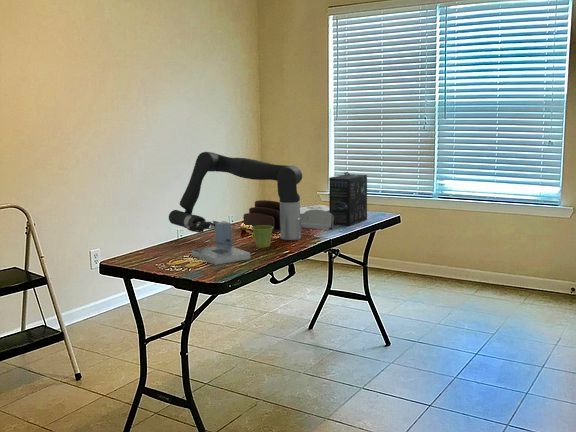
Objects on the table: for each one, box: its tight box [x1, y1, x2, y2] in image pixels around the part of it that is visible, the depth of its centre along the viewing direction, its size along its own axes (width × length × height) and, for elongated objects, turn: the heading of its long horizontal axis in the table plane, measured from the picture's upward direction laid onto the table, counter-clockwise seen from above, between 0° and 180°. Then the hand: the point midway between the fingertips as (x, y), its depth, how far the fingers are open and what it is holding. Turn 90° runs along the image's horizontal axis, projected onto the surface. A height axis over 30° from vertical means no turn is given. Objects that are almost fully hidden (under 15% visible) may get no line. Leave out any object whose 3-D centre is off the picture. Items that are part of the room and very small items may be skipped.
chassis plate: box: [191, 245, 251, 266], centre depth 259 cm, size 20×16×2 cm
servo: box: [214, 220, 234, 247], centre depth 273 cm, size 10×4×12 cm, turn 35°
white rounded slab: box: [300, 204, 329, 223], centre depth 345 cm, size 19×33×5 cm, turn 115°
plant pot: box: [252, 225, 273, 249], centre depth 276 cm, size 9×9×9 cm
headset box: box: [328, 171, 368, 227], centre depth 329 cm, size 22×12×26 cm, turn 149°
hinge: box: [301, 210, 334, 231], centre depth 318 cm, size 17×5×10 cm, turn 59°
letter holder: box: [242, 199, 280, 234], centre depth 314 cm, size 10×20×14 cm, turn 52°
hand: (211, 228), depth 283 cm, fingers open, 8 cm apart
